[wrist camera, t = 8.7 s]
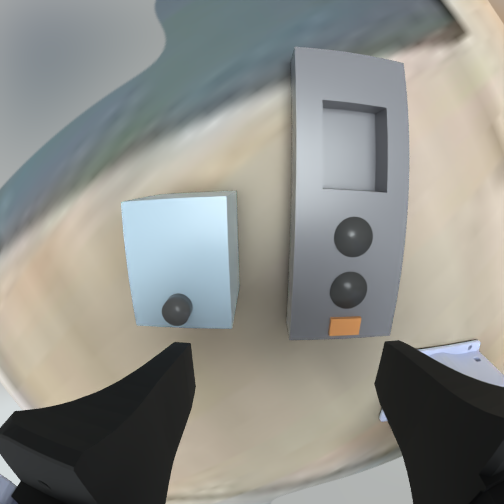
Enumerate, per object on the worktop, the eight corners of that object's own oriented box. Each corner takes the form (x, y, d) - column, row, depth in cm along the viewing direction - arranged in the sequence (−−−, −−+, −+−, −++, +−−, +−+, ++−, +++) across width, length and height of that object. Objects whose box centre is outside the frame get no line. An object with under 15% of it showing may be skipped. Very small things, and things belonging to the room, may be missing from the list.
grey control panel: (388, 74, 17) (405, 61, 14) (377, 319, 21) (391, 337, 18) (290, 61, 17) (295, 44, 14) (286, 322, 21) (289, 342, 18)
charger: (238, 189, 19) (224, 197, 11) (241, 276, 20) (230, 337, 12) (169, 192, 19) (113, 203, 11) (175, 277, 20) (130, 333, 13)
